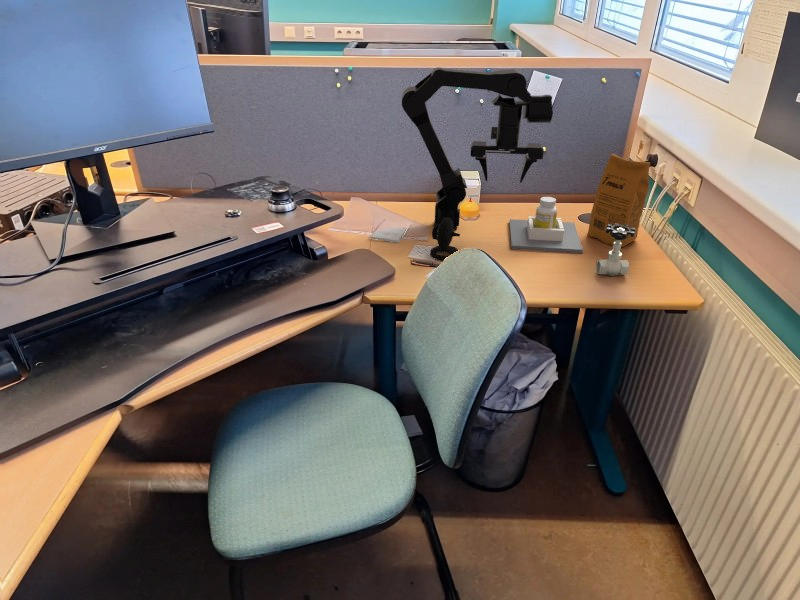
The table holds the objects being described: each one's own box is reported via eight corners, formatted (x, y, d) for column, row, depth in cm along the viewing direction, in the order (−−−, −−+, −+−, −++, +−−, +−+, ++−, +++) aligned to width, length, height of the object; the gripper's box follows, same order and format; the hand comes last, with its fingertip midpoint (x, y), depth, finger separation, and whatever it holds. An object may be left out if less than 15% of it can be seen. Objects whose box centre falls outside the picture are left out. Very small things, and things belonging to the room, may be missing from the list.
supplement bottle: (546, 228, 151) (551, 194, 146) (557, 236, 147) (563, 201, 142) (529, 231, 150) (534, 196, 145) (539, 238, 146) (544, 203, 141)
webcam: (435, 246, 144) (436, 211, 139) (462, 251, 141) (465, 215, 136) (425, 259, 138) (426, 222, 132) (454, 264, 135) (456, 226, 130)
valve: (592, 268, 133) (602, 222, 127) (620, 268, 133) (630, 222, 127) (600, 281, 128) (610, 234, 122) (629, 281, 127) (640, 234, 121)
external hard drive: (411, 227, 156) (398, 245, 146) (384, 224, 158) (369, 241, 148) (411, 222, 155) (398, 239, 145) (384, 219, 157) (369, 236, 147)
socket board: (511, 249, 142) (512, 234, 140) (509, 222, 158) (510, 209, 156) (582, 253, 140) (585, 238, 138) (573, 225, 156) (575, 212, 154)
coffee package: (601, 226, 155) (617, 148, 144) (641, 240, 147) (661, 159, 136) (580, 235, 150) (594, 155, 139) (620, 250, 142) (639, 167, 130)
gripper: (543, 117, 147) (536, 173, 155) (473, 115, 149) (470, 171, 157) (547, 127, 137) (539, 186, 145) (472, 124, 140) (468, 183, 148)
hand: (503, 181), depth 149 cm, fingers open, 9 cm apart
